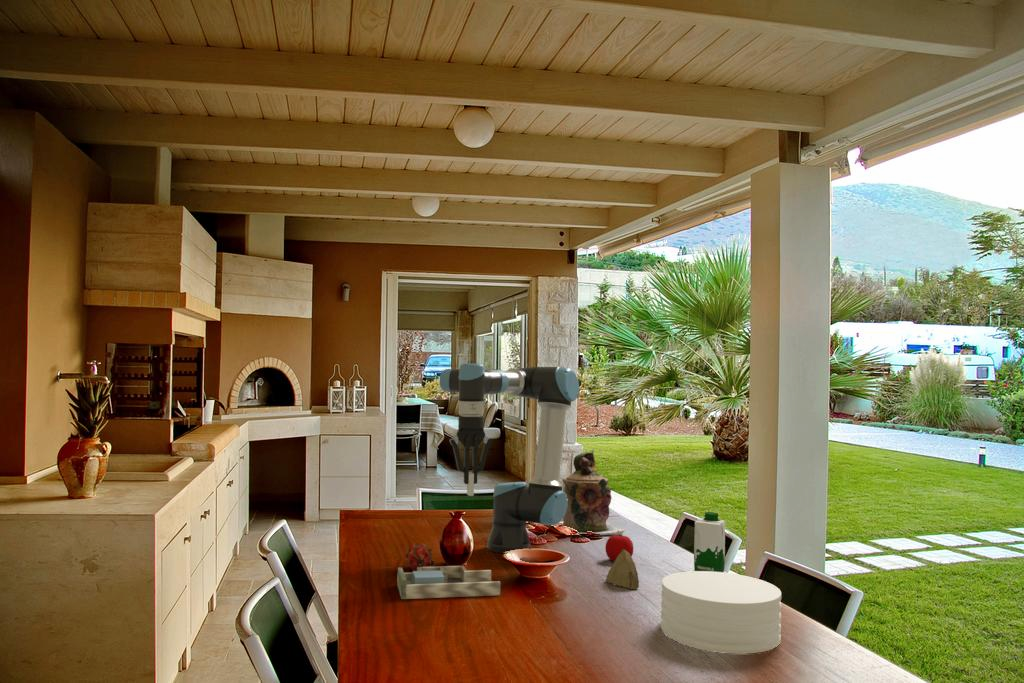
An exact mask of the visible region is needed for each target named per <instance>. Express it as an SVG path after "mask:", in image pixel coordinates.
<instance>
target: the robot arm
mask: <svg viewBox="0 0 1024 683" xmlns="http://www.w3.org/2000/svg"><path fill="white" fill-rule="evenodd" d="M438 381H439V386H440V389H441V390H442V391H443V392H446V393H452V394H453V393H456V394H457V393H458V415H459V416H458V420H457V421H458V423H457V424H458V428H457V432H456V435H455V436H454V437H453V438H449V441H448V442H449V443H450V445H451V446H452V449H453V450H452V451H453V453H454V458H455V462H456V467H457V470H458V471H459V472H461V473H463V483H464V484H465V485H466V487H467V488H466V495H467V496H468V497H469V496H470V497H473V496H475V494H474V492H475V490H474V488H475V485H476V484H477V483H478V473H479V472H482V471H484V468H485V464H486V461H487V456H488V452H489V448H490V446H491V444H492V443H493V439H492V438H490V437H488V436H486V432H485V430H484V426H485V424H484V423H485V418H484V416H483V415H484V413H485V408H484V407H485V406H484V405H485V404H484V403H485V399H484V398H485V395H498V394H504V393H505V394H507V395H508V396H511V397H519V398H520V397H522V398H526V399H531V400H537V405H538V406H539V407H540V409H541V410H540V418H539V427H538V437H537V447H536V456H535V464H534V474H533V475H534V476H533V478H532V479H531V480H530V481H528V483H527V482H526V481H515V482H514V481H513V482H512V481H511V482H504V483H503V482H502V483H497V484H496V485H494V487H493V488H494V489H493V495H492V498H493V499H492V500H493V501H492V504H493V505H492V528H491V531H490V533H489V536H488V539H487V541H486V542H487V543H486V549H487V548H488V549H489V550H488V549H487V550H488V551H490V550H492V551H491V552H493V551H495V552H494V553H498V552H501V553H500V554H504V553H503V552H505V551H510V550H515V549H523V548H530V549H531V542H530V537H529V535H528V534H529V533H528V529H527V525H526V524H527V523H534V524H539V525H542V526H546V525H547V526H550V525H556V524H558V523H559V522H560V521H562V520H563V517H564V516H565V513H566V510H567V506H568V499H567V495H566V493H564V490H563V488H564V487H563V484H562V483H561V482H560V473H561V471H560V470H561V463H562V462H561V461H562V452H563V451H562V450H563V442H564V434H565V432H564V431H565V424H566V423H565V422H566V412H567V411H568V410H569V409H570V408H571V406H572V402H574V401H576V400H577V399H578V397H579V394H580V382H579V378H578V377H577V374H576V372H575V371H574V370H573V369H572V368H570V367H562V366H528V367H522V368H521V367H519V368H509V369H507V370H501V369H496V368H493V369H485V365H484V364H483V363H461V364H460V365H459V368H445V369H443V370H442V371H441V373H440V375H439V380H438ZM459 441H460V443H461V444H462V446H463V462H462V458H461V453H460V449H459V445H458V444H459ZM482 442H483V443H484V444H483V445H482V450H481V452H480V453H481V454H480V458H479V454H478V453H479V452H478V451H479V445H480V444H481V443H482ZM470 450H471V472H470ZM478 458H479V459H478Z"/></svg>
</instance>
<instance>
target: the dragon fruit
mask: <svg viewBox="0 0 1024 683" xmlns="http://www.w3.org/2000/svg"><path fill="white" fill-rule="evenodd" d="M432 550H433V549H432V548H431V547H430V546H427V544H425V543H419V542H418V543H414V544H413V546H410V547H408V549H407V551H406V555H405V559H404V560H405V562H406V566H407V567H408V568H410V569H411V571H412V572H413V571H417V567H431V566H434V564H435V560H434V558H433V557H434V555H433V553H432Z"/></svg>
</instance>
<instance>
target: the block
mask: <svg viewBox="0 0 1024 683" xmlns="http://www.w3.org/2000/svg"><path fill="white" fill-rule="evenodd" d="M412 572H413V584H436V583H444V575H443V573H442V571H441V570H438V571H413V570H412Z"/></svg>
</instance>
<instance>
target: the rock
mask: <svg viewBox="0 0 1024 683" xmlns="http://www.w3.org/2000/svg"><path fill="white" fill-rule="evenodd" d="M632 557H633V556H632ZM632 557H631V555H630V553H629V552H627V551H626V550H624V549H623V550H622V551H621V553H620V554H619V555H618V557H617V558H616V560H615V561H613V563H612V566H611V567H610V569H609V570H608V573H607V575H606V578H605V581H607V582H606V583H609V582H610V583H612V584H611V585H613V584H615V585H614V586H616V585H618V586H617V587H621V586H623V587H622V588H626V587H627V589H629V588H630V590H638V589H639V584H640V580H639V576H638V571H637V567H636V563H635V562H634V560H633V558H632ZM605 581H604V582H605ZM610 583H609V584H610ZM637 588H638V589H637Z"/></svg>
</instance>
